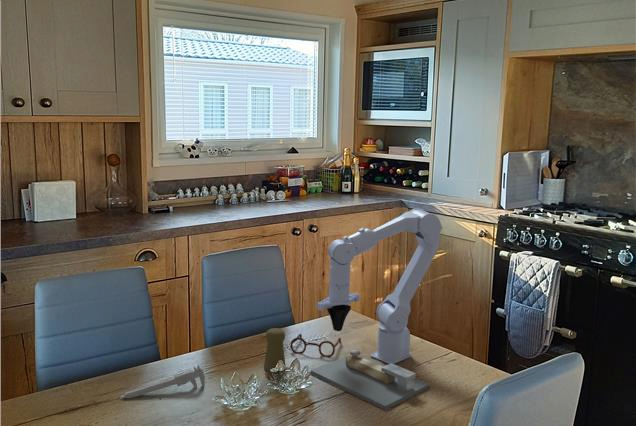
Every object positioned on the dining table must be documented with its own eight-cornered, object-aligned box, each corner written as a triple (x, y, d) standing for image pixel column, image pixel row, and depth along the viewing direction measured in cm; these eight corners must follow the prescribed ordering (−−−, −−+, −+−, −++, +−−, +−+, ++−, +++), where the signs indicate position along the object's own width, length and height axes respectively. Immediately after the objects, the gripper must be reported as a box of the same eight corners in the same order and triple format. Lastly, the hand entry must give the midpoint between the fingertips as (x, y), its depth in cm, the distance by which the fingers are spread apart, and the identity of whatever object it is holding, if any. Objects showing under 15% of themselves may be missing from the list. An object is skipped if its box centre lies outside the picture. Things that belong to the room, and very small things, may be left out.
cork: (282, 373, 163) (283, 335, 162) (260, 371, 165) (261, 332, 163) (288, 364, 169) (289, 327, 167) (267, 362, 170) (267, 324, 169)
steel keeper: (380, 382, 158) (381, 367, 158) (390, 377, 161) (391, 363, 160) (405, 393, 153) (406, 377, 152) (414, 388, 155) (415, 373, 155)
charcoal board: (355, 356, 177) (355, 352, 176) (429, 387, 158) (429, 384, 158) (310, 373, 164) (310, 370, 164) (385, 409, 146) (385, 406, 146)
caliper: (203, 386, 155) (203, 363, 154) (204, 388, 154) (204, 365, 153) (120, 398, 148) (119, 374, 147) (120, 400, 147) (119, 376, 146)
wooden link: (343, 365, 167) (343, 351, 167) (354, 360, 170) (354, 347, 170) (385, 384, 157) (386, 369, 156) (396, 379, 160) (397, 365, 159)
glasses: (289, 354, 178) (290, 338, 177) (300, 338, 190) (300, 322, 189) (334, 359, 175) (334, 343, 174) (341, 342, 188) (342, 327, 187)
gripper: (330, 291, 161) (328, 340, 163) (367, 282, 170) (365, 328, 173) (312, 285, 166) (310, 332, 168) (350, 276, 175) (348, 321, 178)
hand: (337, 330), depth 171 cm, fingers closed
